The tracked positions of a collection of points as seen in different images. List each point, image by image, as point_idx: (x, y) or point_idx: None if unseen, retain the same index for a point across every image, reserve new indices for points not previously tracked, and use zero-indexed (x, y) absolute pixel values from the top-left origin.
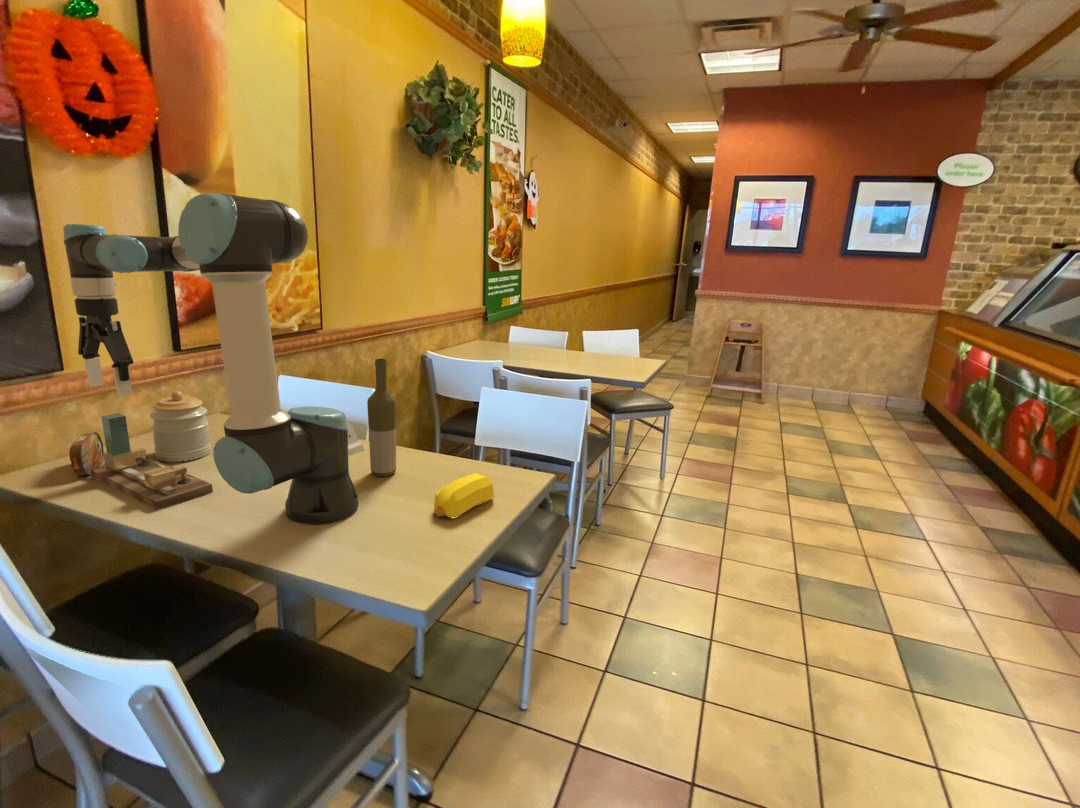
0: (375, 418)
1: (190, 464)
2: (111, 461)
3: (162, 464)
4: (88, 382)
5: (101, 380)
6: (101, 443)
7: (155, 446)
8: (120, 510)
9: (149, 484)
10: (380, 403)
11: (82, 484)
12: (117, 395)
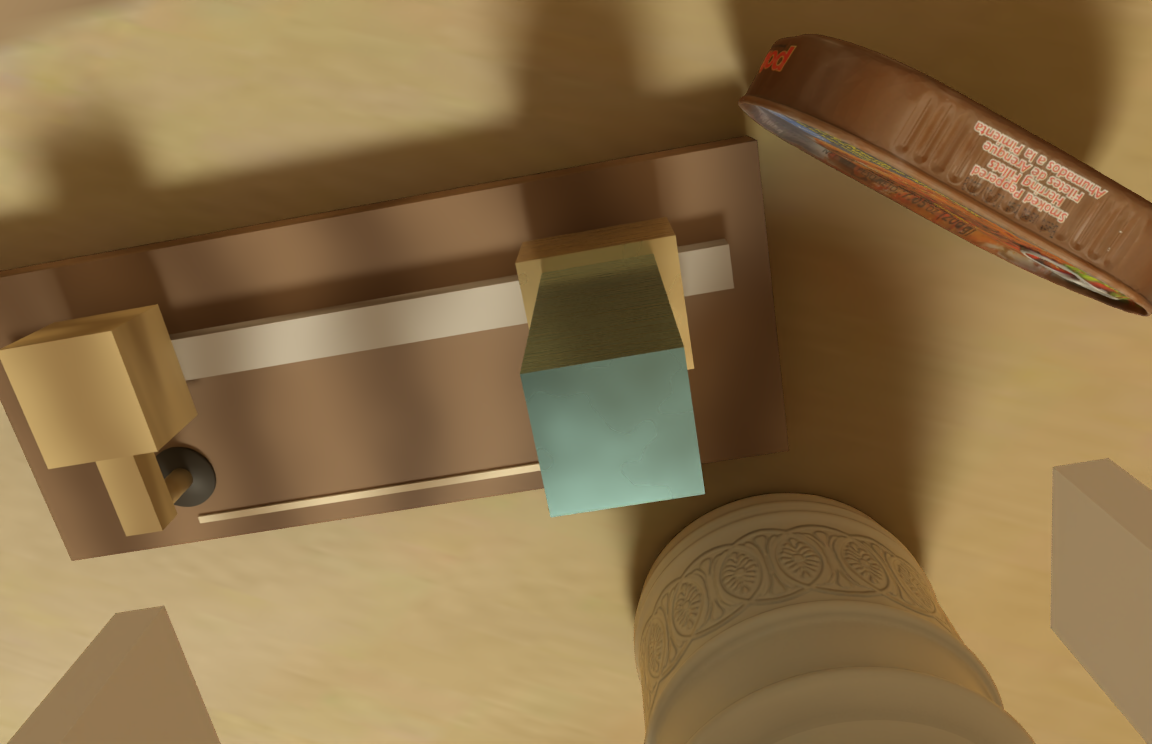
0: None
1: (585, 586)
2: (561, 245)
3: None
4: (1142, 495)
5: (1097, 665)
6: (1119, 303)
7: (810, 534)
8: (86, 131)
9: (94, 318)
10: None
11: (653, 63)
12: (159, 608)
